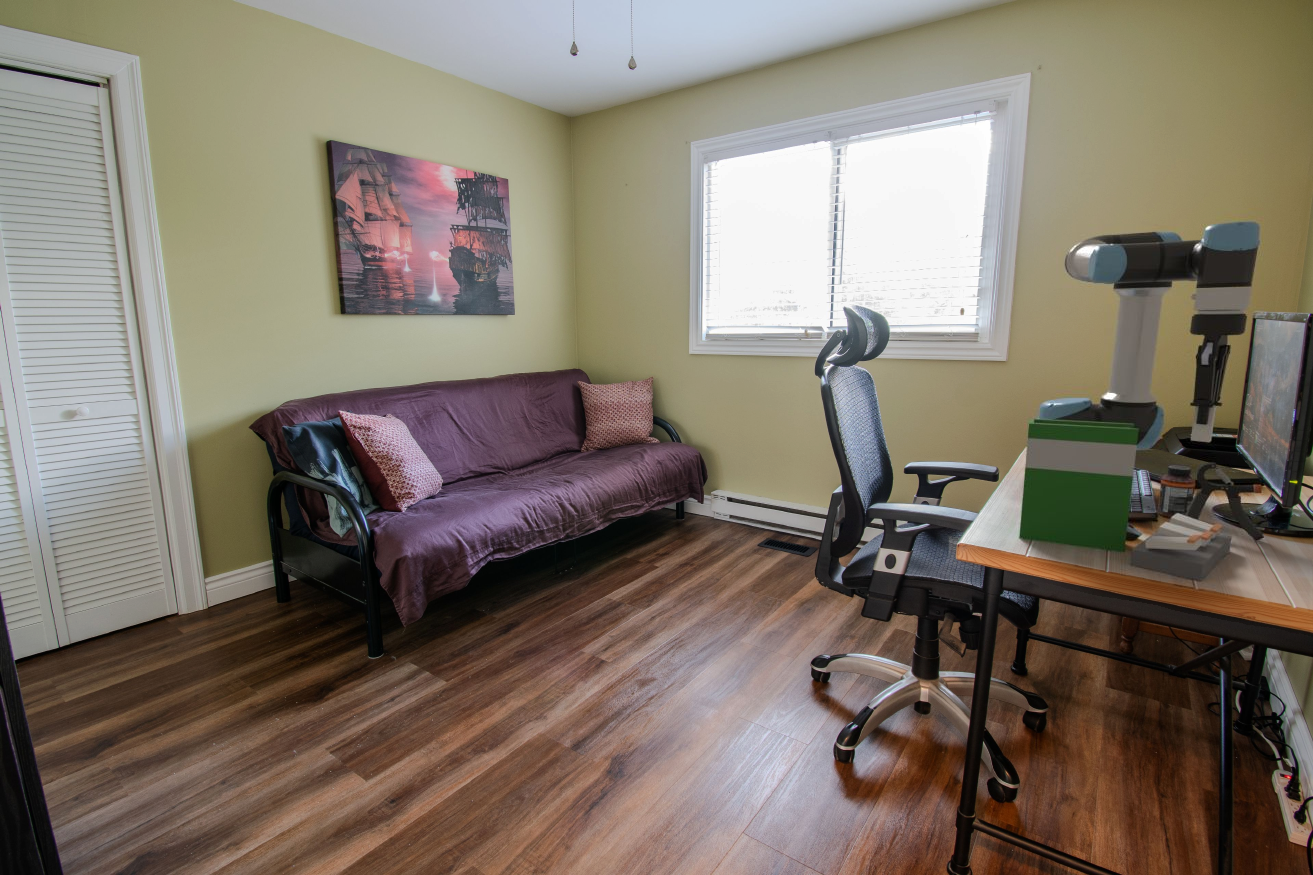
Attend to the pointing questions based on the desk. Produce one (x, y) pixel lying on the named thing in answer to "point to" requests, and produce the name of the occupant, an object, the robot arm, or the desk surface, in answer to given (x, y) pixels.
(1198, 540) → the rocker
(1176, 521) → the rocker
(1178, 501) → the supplement bottle
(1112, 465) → the hardback book
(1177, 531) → the middle rocker
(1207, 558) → the rocker switch box
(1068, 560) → the desk surface
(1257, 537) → the hand grip strengthener
